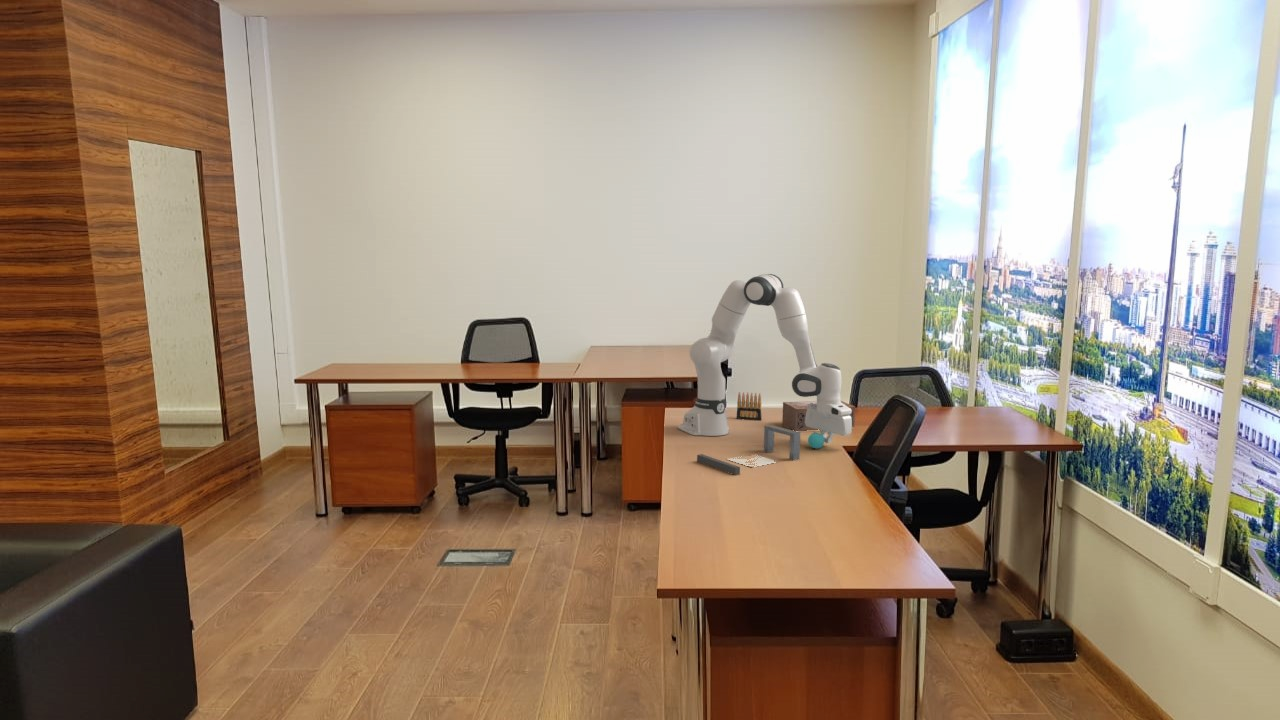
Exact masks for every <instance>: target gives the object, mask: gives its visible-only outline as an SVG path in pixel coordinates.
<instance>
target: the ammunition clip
mask: <svg viewBox="0 0 1280 720" xmlns="http://www.w3.org/2000/svg"><path fill="white" fill-rule="evenodd" d="M736 408H737V409H736V418H735V419H736V420H742V419H744V420H745V421H759V422H761V421H762V395H761V392H759V393H758V395H757V392H755V393H754V395H753V392H751V393H750V394H749V392H746V395H745V392H744V391H743V392H742V396H741V392H740V391H739V392H738V394H737V407H736ZM744 420H743V421H744Z"/></svg>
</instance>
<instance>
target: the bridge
mask: <svg viewBox="0 0 1280 720" xmlns="http://www.w3.org/2000/svg"><path fill="white" fill-rule="evenodd" d="M763 431H764V435H763V436H764V437H763V452H764V451H765V452H764V453H767V452H769V453H771V452H770V451H774V448H775V445H774V444H775V433H777V434H778V433H779V434H780V435H781V434H782V435H785V436H788V437H789V457H788V458H789V459H788V460H790V459H792V460H791V461H793V460H794V461H796V460H795V459H799V460H800V456H801V454H800V451H801V450H800V449H801V432H796V431H793V430H791V429H789V428H785V427H784V428H783V427H780V426H777V425H772V424H767V425H764V429H763ZM774 452H775V451H774Z"/></svg>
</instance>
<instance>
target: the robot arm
mask: <svg viewBox="0 0 1280 720" xmlns="http://www.w3.org/2000/svg"><path fill="white" fill-rule="evenodd" d="M751 304H753V305H755V306H766V307H770V306H771V307H772V308H773V310H774V313H775V318H776V322H777V326H778V328H779V329H778V330H779V332H780V334H781V336H782V337H783V338H784V339H785V340H786V341H788V342H789V343H790V344H791V345H792V346H793V349H794V351H795V355H796V358H797V362H798V366H799V373H797V374H796V375H795V376H794V378H793V379H792V381H791V389H792V390H793V392H794V394H795V395H797V396H799V397H803V398H808V397H816V401H817V404H814V403H810V404H809V405H808V406H807V412H806V417H805V425H806V426H807V427H811V428H815V429H819V430H820V431H819V433H820V434H821V435H822V436H823V437H824V444H831V443H832V439H833V437H834V436H835V434H836V435H838V436H839V435H840V436H844V437H845V436H850V435H851V434H852V432H853V431H852V419H851V416H850V415H849V414H851V413H852V410H851V409H850V408H849V407H847V406H846V405H844V404H843V403H842V402H841V401H842V397H841V390H842V386H843V383H842V380H843V379H842V370H841V368H840V367H839V366H838V365H836V364H832V363H827V362H823V363H821V364H819V365H817V363H816V360H815V356H814V355H815V354H814V352H813V349H812V344H811V340H810V333H809V324H808V318H807V317H808V316H807V314H806V310H805V306H804V303H803V300H802V297H801V294H800V292H799V291H798V290H797V289H796V288H793V287H784V283H783V281H782V279H781V278H780V277H779V276H777V275H776V274H772V273H766V274H765V273H763V274H759V275H757V276H753V277H751V278H750V279H748V280H747V282H746V281H744V280H739V279H738V280H733V281H731V282H730V284H729V285H728V286H727V288H726V290H724V293H723V295H722V296H721V298H720V300H719V302H718V304H717V307H716V309H715V311H714V313H713V315H712V317H711V323H712V324H711V329H710V332H709V335H708V336H707V337H702V338H699V339H698V340H696V341H695V342H694V343H693V344H691V346H690V348H689V357H690V359H691V361H692V362H693V363H694V367H695V371H696V375H697V376H696V377H697V397H694V398H693V402H694V406H693V407H691V409H689V410H688V411H687V412H685V413H684V414H683V418H682V419H683V420H682V422H683V423H680V424H678V425H677V426H676V428H677V429H679V430H681V431H682V432H685V433H687V434H689V435H691V436H705V437H709V436H710V437H716V436H717V437H718V436H724V435H725V436H726V435H728V434H729V433H730V432H729V431H730V427H729V425H728V423H729V422H728V414H727V410H726V408H727V398H726V377H725V376H724V373H723V372H722V367H721V366H722V365H721V364H722V363H723V362H725V361H727V360H728V359H729V358H731V357H732V356H733V354H734V351H735V341H736V337H737V333H738V331H739V328H740V326H741V323H742V321H743V319H744V318H745V316H746V313H747V311H748V309H749V307H750V305H751ZM827 435H828V436H827Z"/></svg>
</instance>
